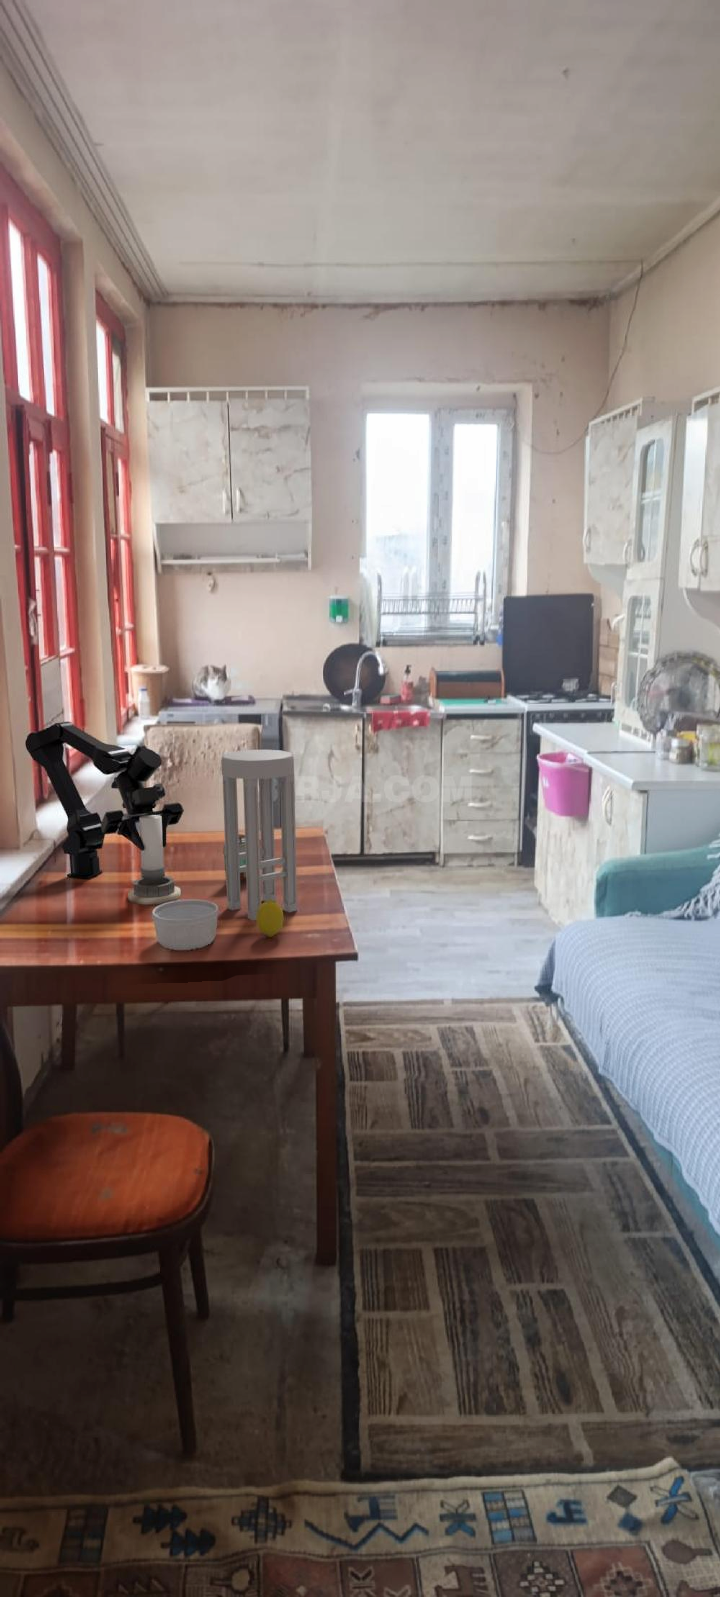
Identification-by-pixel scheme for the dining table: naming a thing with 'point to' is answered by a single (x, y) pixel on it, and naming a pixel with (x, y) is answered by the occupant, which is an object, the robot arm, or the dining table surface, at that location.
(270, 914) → the lemon
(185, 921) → the ramekin
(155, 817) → the white smooth rounded part
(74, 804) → the robot arm
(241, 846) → the food container
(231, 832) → the stool
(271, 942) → the dining table surface
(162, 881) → the socket
